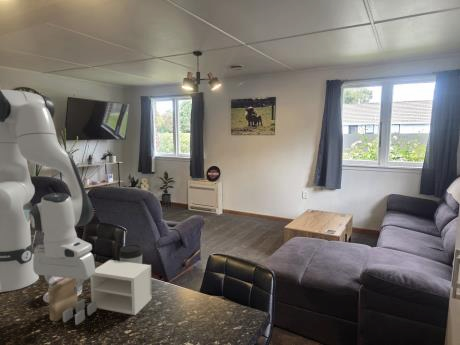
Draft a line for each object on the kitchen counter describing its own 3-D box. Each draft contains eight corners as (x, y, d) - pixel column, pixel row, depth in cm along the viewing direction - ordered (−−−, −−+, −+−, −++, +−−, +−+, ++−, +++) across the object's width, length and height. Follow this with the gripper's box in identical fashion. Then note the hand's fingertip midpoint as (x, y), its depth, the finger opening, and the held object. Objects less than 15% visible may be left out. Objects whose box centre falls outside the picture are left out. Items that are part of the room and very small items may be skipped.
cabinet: (63, 321, 89) (60, 283, 88) (105, 290, 108) (104, 258, 106) (116, 333, 85) (115, 292, 83) (151, 298, 103) (150, 265, 101)
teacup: (61, 284, 112) (60, 269, 112) (89, 288, 110) (88, 272, 109) (34, 301, 101) (33, 284, 100) (65, 306, 98) (64, 288, 97)
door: (47, 319, 91) (45, 288, 90) (69, 304, 99) (68, 275, 98) (56, 321, 90) (54, 289, 89) (77, 306, 98) (76, 277, 97)
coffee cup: (136, 294, 106) (135, 253, 104) (115, 291, 107) (113, 251, 106) (147, 283, 114) (146, 245, 112) (127, 280, 115) (126, 243, 114)
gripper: (25, 248, 91) (30, 290, 93) (81, 252, 86) (85, 298, 88) (42, 240, 97) (47, 281, 99) (96, 245, 92) (100, 287, 94)
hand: (65, 289), depth 93 cm, fingers open, 8 cm apart
